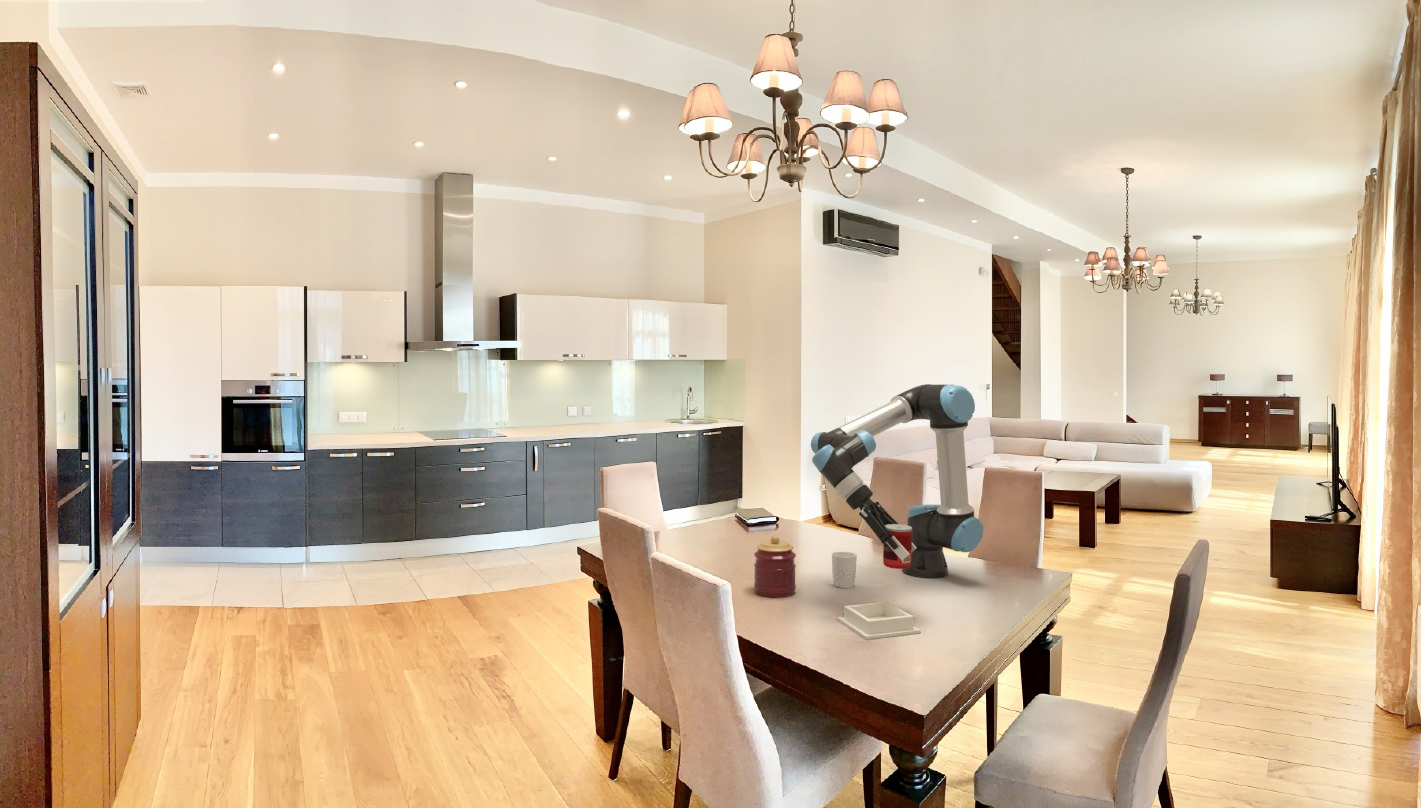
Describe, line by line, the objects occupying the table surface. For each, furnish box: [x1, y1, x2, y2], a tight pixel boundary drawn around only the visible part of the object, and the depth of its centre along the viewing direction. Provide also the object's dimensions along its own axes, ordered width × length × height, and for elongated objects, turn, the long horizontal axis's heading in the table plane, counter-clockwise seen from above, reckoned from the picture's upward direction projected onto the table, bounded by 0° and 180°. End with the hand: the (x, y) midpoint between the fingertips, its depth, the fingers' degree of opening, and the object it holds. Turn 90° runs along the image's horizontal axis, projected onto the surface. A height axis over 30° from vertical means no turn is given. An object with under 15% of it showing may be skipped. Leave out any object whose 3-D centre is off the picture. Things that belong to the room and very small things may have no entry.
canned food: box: [882, 523, 912, 570], centre depth 214 cm, size 8×8×11 cm
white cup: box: [831, 551, 858, 589], centre depth 244 cm, size 8×8×10 cm
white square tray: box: [836, 601, 921, 640], centre depth 205 cm, size 16×16×4 cm
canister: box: [753, 535, 797, 598], centre depth 236 cm, size 13×13×18 cm
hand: (909, 554), depth 212 cm, fingers closed on canned food, 8 cm apart
